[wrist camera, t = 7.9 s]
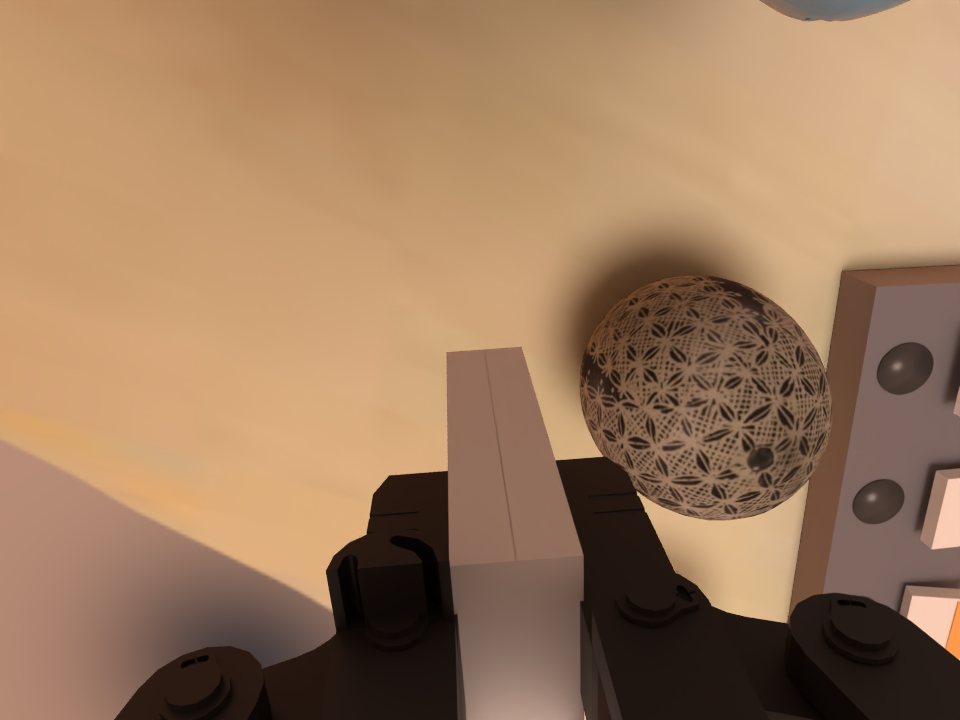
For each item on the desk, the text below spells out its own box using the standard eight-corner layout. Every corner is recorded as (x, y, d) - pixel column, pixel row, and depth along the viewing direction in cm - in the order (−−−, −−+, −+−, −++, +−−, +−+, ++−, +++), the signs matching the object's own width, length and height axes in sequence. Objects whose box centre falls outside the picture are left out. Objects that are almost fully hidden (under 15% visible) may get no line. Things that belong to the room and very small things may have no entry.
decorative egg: (540, 412, 44) (586, 564, 30) (591, 231, 39) (672, 308, 26) (712, 444, 45) (833, 603, 31) (779, 273, 41) (953, 368, 27)
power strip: (842, 271, 41) (878, 287, 38) (1005, 262, 41) (1055, 277, 38) (785, 637, 51) (809, 676, 48) (916, 627, 52) (949, 665, 48)
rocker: (906, 585, 45) (913, 597, 44) (973, 589, 45) (981, 601, 44) (892, 644, 47) (899, 657, 46) (956, 649, 46) (964, 662, 45)
